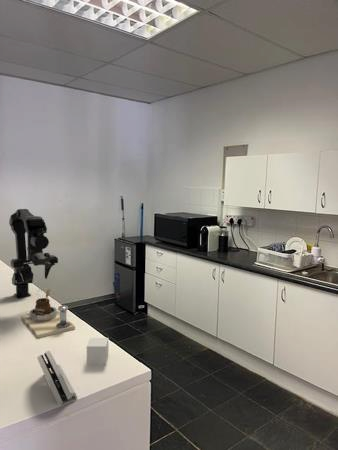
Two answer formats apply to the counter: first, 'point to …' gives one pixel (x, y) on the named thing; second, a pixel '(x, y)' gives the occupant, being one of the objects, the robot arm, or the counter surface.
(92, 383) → the counter surface
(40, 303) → the utensil holder
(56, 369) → the grey electronic device
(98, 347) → the grey cube
